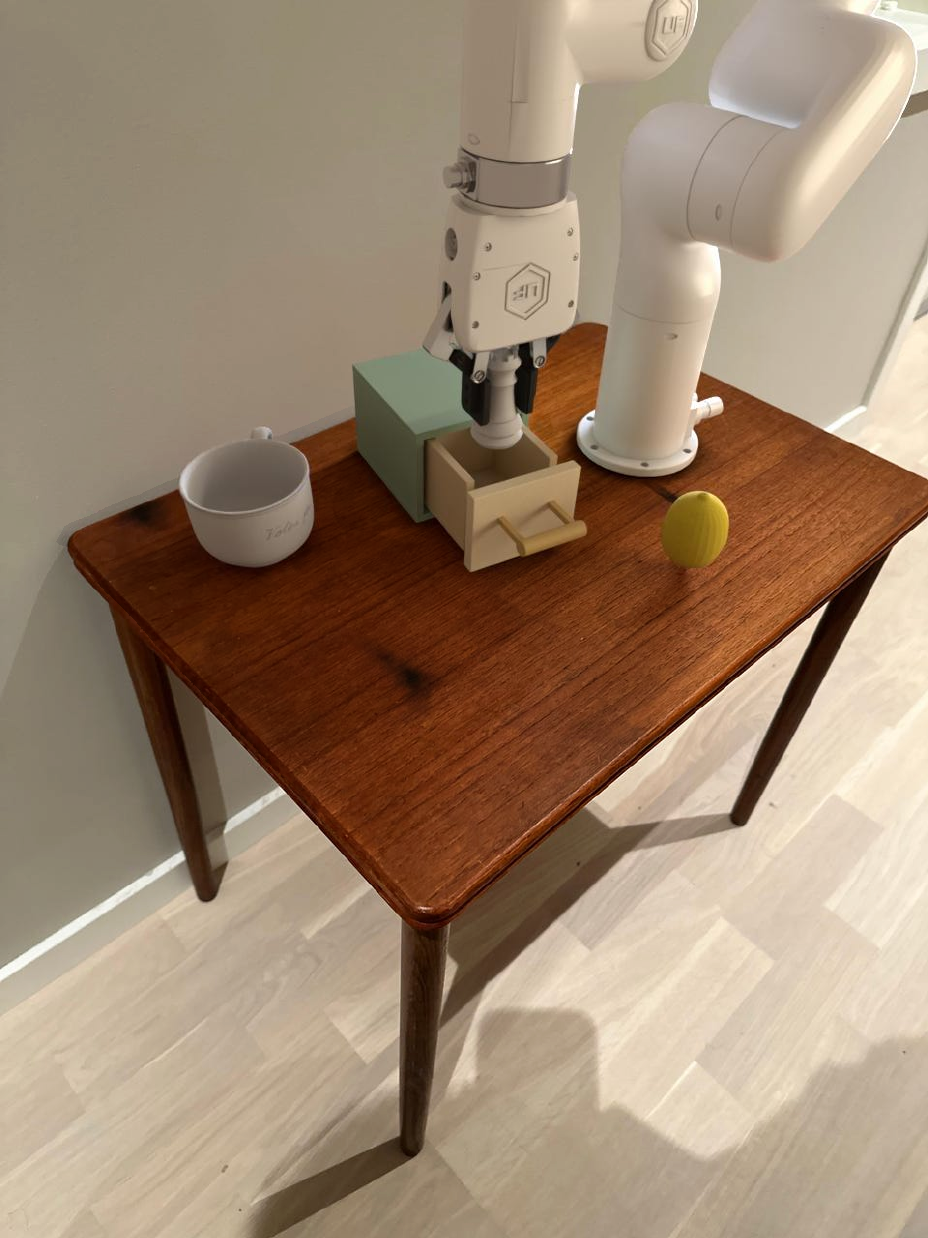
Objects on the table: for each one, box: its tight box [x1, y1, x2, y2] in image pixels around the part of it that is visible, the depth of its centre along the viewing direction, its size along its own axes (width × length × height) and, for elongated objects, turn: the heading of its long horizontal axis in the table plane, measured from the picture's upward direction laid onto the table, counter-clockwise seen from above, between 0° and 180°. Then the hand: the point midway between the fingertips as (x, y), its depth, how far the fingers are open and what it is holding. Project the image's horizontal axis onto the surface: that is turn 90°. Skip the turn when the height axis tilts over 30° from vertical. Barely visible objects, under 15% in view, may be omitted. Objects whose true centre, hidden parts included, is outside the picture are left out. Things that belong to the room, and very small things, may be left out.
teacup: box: [177, 426, 315, 568], centre depth 76 cm, size 14×11×8 cm
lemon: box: [660, 490, 730, 569], centre depth 75 cm, size 6×6×8 cm
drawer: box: [423, 424, 588, 573], centre depth 76 cm, size 17×10×8 cm, turn 29°
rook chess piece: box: [470, 345, 523, 449], centre depth 71 cm, size 4×4×8 cm
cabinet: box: [351, 340, 530, 524], centre depth 84 cm, size 14×12×10 cm
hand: (498, 409), depth 72 cm, fingers closed on rook chess piece, 3 cm apart
